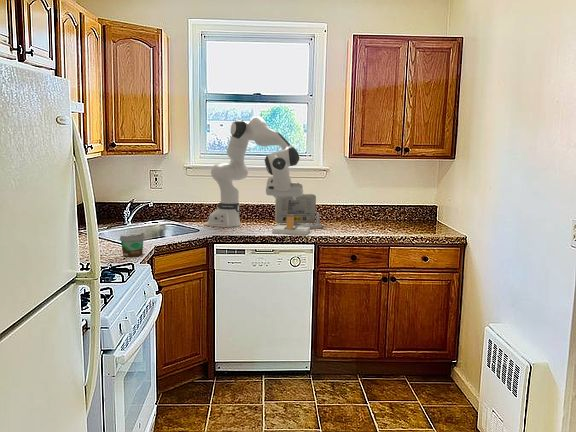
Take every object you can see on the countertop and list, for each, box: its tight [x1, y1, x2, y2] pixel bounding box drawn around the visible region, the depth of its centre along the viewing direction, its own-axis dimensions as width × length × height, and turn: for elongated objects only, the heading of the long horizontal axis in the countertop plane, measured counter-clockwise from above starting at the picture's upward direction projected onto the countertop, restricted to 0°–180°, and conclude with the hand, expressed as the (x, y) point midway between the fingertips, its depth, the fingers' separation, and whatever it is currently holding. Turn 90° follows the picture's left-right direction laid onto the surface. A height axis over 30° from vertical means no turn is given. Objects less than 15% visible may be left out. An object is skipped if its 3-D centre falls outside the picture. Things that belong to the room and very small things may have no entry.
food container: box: [119, 232, 146, 258], centre depth 256 cm, size 12×6×10 cm, turn 138°
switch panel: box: [271, 224, 311, 236], centre depth 327 cm, size 20×14×3 cm
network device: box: [274, 193, 317, 226], centre depth 350 cm, size 26×9×20 cm, turn 105°
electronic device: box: [299, 211, 323, 230], centre depth 343 cm, size 5×10×15 cm
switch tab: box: [286, 214, 294, 229], centre depth 323 cm, size 4×3×8 cm
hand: (285, 199), depth 305 cm, fingers open, 8 cm apart
